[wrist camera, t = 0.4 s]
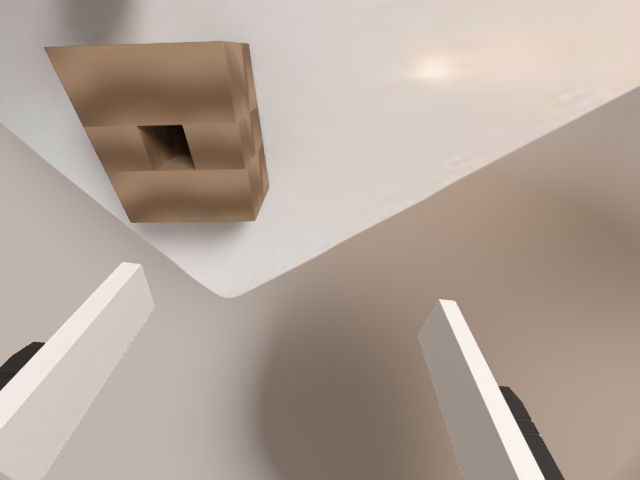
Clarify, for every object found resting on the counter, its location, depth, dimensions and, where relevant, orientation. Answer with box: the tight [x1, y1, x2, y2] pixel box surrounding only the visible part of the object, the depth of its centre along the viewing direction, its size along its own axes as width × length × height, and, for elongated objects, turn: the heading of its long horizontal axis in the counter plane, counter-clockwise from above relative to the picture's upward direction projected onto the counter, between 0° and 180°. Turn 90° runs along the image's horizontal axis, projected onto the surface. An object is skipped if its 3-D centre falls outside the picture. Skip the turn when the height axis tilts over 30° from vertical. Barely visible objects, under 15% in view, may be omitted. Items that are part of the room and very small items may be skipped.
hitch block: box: [44, 41, 269, 223], centre depth 29 cm, size 16×14×9 cm
